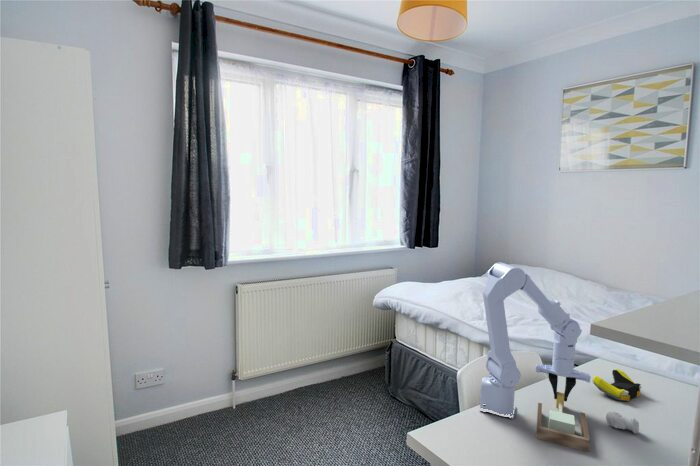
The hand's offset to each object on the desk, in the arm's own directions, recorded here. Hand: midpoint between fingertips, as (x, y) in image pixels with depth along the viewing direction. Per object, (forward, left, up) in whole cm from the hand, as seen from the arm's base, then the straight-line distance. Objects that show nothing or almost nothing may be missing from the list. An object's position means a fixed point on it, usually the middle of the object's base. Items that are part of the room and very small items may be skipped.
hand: (560, 398), depth 121 cm
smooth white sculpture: (+15, -5, -3) cm, 16 cm away
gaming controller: (+17, +18, -3) cm, 25 cm away
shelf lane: (0, -14, -2) cm, 14 cm away
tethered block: (0, -8, -2) cm, 8 cm away
